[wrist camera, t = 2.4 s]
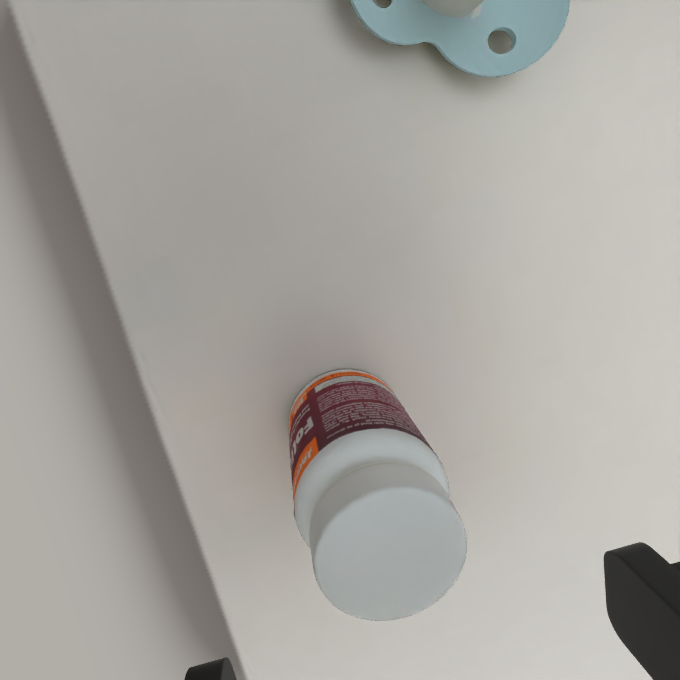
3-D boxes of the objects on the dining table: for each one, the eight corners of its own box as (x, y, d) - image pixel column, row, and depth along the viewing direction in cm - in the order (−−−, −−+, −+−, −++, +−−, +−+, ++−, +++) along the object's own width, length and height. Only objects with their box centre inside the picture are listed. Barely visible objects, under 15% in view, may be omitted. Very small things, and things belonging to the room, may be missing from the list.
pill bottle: (279, 376, 19) (284, 493, 11) (393, 358, 19) (479, 457, 11) (296, 479, 20) (311, 652, 12) (403, 460, 21) (486, 614, 13)
